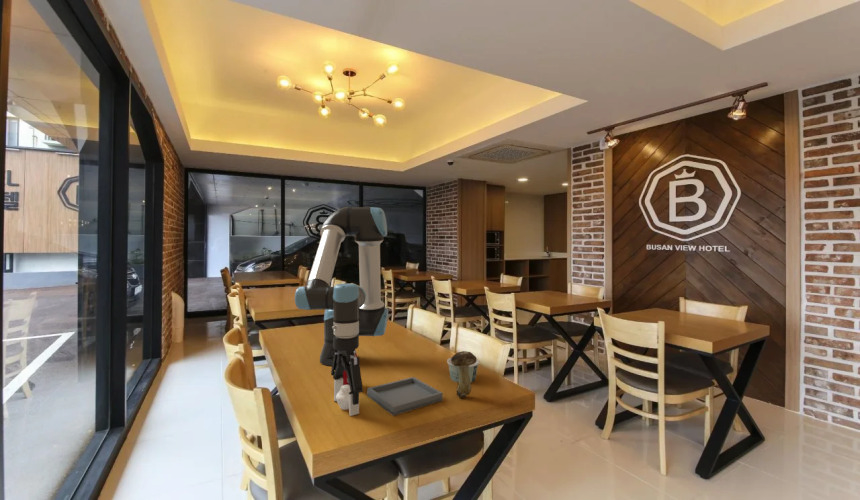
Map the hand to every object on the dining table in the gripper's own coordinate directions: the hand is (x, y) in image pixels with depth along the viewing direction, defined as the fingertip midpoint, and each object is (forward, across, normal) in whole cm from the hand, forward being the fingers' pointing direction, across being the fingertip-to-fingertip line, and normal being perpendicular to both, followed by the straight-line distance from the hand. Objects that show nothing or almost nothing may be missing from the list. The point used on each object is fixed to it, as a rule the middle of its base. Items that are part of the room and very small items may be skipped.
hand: (346, 406), depth 112 cm
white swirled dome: (0, 0, 0) cm, 0 cm away
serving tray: (0, +4, +18) cm, 19 cm away
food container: (0, +2, +45) cm, 45 cm away
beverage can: (0, -15, +7) cm, 17 cm away
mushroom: (0, +15, +34) cm, 37 cm away
